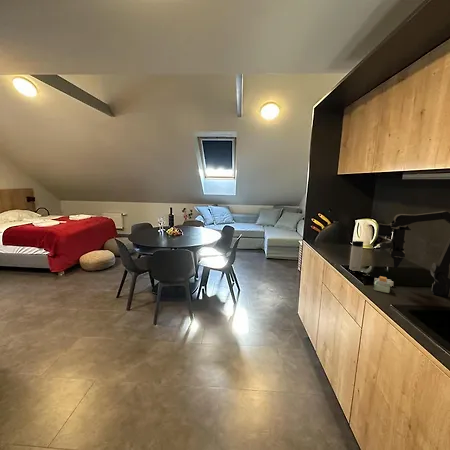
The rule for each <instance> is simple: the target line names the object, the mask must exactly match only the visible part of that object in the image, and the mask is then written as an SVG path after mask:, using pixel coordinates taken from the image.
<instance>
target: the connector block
mask: <svg viewBox="0 0 450 450" xmlns="http://www.w3.org/2000/svg"><path fill="white" fill-rule="evenodd" d="M378 278H379V279H378V285H382V286H387V280H386V279H388V278H387V277H386V276H381V275H380V276H379V277H378Z"/></svg>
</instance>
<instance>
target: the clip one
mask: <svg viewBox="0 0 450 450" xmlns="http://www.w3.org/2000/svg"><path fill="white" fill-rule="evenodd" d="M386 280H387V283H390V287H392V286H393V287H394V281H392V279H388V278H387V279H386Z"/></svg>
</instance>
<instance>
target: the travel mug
mask: <svg viewBox="0 0 450 450" xmlns="http://www.w3.org/2000/svg"><path fill="white" fill-rule="evenodd" d="M351 241H352V240H351ZM363 247H364V241H362V240H355V241H354V240H353V241H352V242H351V251H350V258H349V259H350V260H349V267H348V270H349V269H350V270H352V271H360V272H361V267H362V266H361V265H362V256H363V249H364V248H363Z"/></svg>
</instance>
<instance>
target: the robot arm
mask: <svg viewBox="0 0 450 450" xmlns="http://www.w3.org/2000/svg"><path fill="white" fill-rule="evenodd" d="M440 220H443V221H445V222H446V223H448V224H449V225H450V212H448V211H447V210H441V211H434V212H427V213H417V214H409V213H408V214H407V213H398V214H396V215H395V216H394V217H393V220H392V221H391V222H389V224H385V223H384V224H383V223H378V226H377V229H376V237H383V238H384V237H386V238H389V237H391V236H392V238H391V240H388V241H384V242H383V241H382V242H379V243H378V245H379V248H380V250H382V251H384V250H388V249H389V251H390V253H389V254H390V258H392V260H393V266H394V269H398V267H399V266H400V264H401V263H402V261H403V260H404V259H405V258H406V257H405V256H406V252H405V244H406V233H407V231H411V228H410V227H409V225H412V224H415V223H419V222H422V223H423V222H430V221H431V222H432V221H440ZM429 271H430V275H431V276H432V277H433V280H434V282H433V283H432V284H431V285H432V286H431V292H432V294H433V296H434V295H435V296H440V297H444V298H450V278H449V274H450V236H449V238H448V240H447V242H446V245H445V247H444V249H443V251H442V254H441V255H440V258H439V260H438V261H437V262H432V264H431V267H430V268H429Z"/></svg>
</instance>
